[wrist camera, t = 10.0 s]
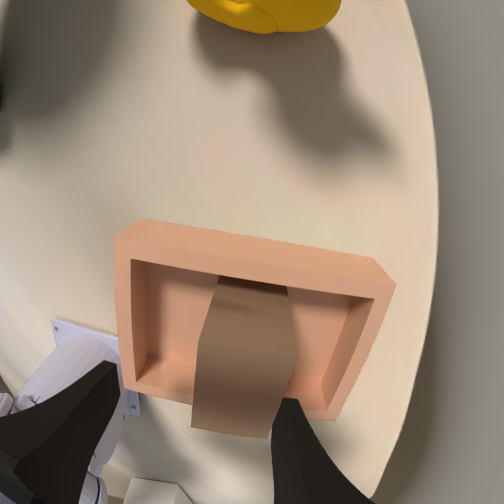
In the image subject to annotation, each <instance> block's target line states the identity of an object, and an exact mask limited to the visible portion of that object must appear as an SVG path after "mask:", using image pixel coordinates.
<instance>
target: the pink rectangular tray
mask: <svg viewBox="0 0 504 504" xmlns="http://www.w3.org/2000/svg"><path fill="white" fill-rule="evenodd" d="M220 275H223V276H229V277H235V278H241V279H247V280H253V281H259V282H265V283H272V284H278V285H284V286H287V291H288V297H289V304H290V310H291V317H292V323H293V330H294V337H295V344H296V350H297V359H296V362H295V365H294V368H293V371H292V373H291V376H290V379H289V382H288V385H287V387H286V390H285V393H284V396H283V397H285V398H296V399H298V400H299V402H300V405H301V407H302V409H303V412H304V414H305V416H306V418H307V420H336V418H337V416H338V414H339V412H340V410H341V409H342V407H343V405H344V403H345V401H346V399H347V397H348V395H349V393H350V392H351V390H352V388H353V386H354V384H355V382H356V380H357V377H358V375H359V373H360V371H361V369H362V367H363V365H364V363H365V361H366V358H367V356H368V354H369V352H370V350H371V347H372V345H373V343H374V340H375V338H376V336H377V333H378V331H379V328H380V326H381V324H382V321H383V319H384V316H385V314H386V311H387V308H388V306H389V303H390V300H391V298H392V295H393V292H394V289H395V287H396V284H395V282H394V281H393V280H392V279H391V278H390V277H389V276H388V275H387V273H386V272H385V271H384V270H383V269H382V268H381V267H380V266H379V265H378V263H377V262H376V261H375V260H374V259H373V258H368V257H362V256H357V255H351V254H346V253H340V252H335V251H329V250H324V249H318V248H312V247H307V246H301V245H295V244H290V243H284V242H278V241H272V240H266V239H261V238H255V237H249V236H243V235H237V234H231V233H225V232H219V231H213V230H207V229H200V228H194V227H188V226H182V225H176V224H169V223H163V222H157V221H150V220H144V219H142V220H140V221H138V222H137V223H135V224H134V225H132V226H131V227H129V228H127V229H126V230H124V231H123V232H121V233H120V234H118V235H117V236H115V237H114V282H115V305H116V320H117V333H118V343H119V353H120V361H121V369H122V377H123V384H124V388H126V389H129V390H133V391H136V392H140V393H143V394H147V395H151V396H155V397H159V398H163V399H167V400H172V401H176V402H181V403H185V404H190V405H193V394H194V382H195V371H196V360H197V350H198V340H199V337H200V334H201V331H202V328H203V325H204V321H205V318H206V315H207V312H208V309H209V306H210V303H211V300H212V297H213V294H214V291H215V288H216V285H217V282H218V279H219V276H220ZM282 399H283V398H282ZM279 407H280V406H279Z"/></svg>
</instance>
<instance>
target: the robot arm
mask: <svg viewBox="0 0 504 504" xmlns="http://www.w3.org/2000/svg"><path fill="white" fill-rule="evenodd" d="M52 327H53V332H54V337H55V341H56V345H57V347H56V348H55V349H54V351H53V352H52V353H51V354H50V355H49V356H48V358H47V359H46V360H45V361H44V362H43V363H42V365H41V366H40V367H39V368H38V369H37V371H36V372H35V373H34V374H33V375H32V377H31V378H30V379H29V380H28V382H27V383H26V384H25V385H24V386H23V388H22V389H21V390H20V391H19V393H18V394H17V395H16V397H15V398H13V399H12V398H11V397H10V396H9V395H8V394H7V393H4V394H2V393H0V504H107V487H106V484H105V482H104V480H103V479H102V478H101V477H100V476H99V474H100V472H101V470H102V467H103V465H105V464H106V463H107V462H108V461H109V460H110V459H111V457H112V455H113V452H114V450H115V448H116V445H117V443H118V440H119V438H120V436H121V433H122V431H123V429H124V427H125V424H126V422H127V420H128V417H129V415H133V416H140V414H141V410H140V402H139V394H138V392H136V391H133V390H129V389H126V388H124V384H123V377H122V369H121V361H120V353H119V343H118V336H115V335H111V334H107V333H104V332H100V331H97V330H94V329H90V328H87V327H84V326H81V325H78V324H74V323H71V322H68V321H65V320H62V319H59V318H56V317H55V318H53V319H52ZM271 451H272V465H273V478H274V504H375V503H373V502H372V501H371V500H370V499H368V498H367V497H366V496H365V495H363V494H362V493H361V492H360V491H359V490H358V489H357V488H356V487H355V486H354V485H353V484H352V483H351V482H350V481H349V480H348V479H347V478H346V477H345V476H344V475H343V474H342V473H341V471H340V470H339V469H338V468H337V466H336V465H335V464H334V463H333V461H332V460H331V459H330V457H329V456H328V454H327V453H326V451H325V450H324V448H323V447H322V445H321V444H320V442H319V440H318V439H317V437H316V435H315V433H314V431H313V430H312V428H311V426H310V424H309V422H308V420H307V418H306V416H305V414H304V412H303V409H302V407H301V405H300V402H299V400H298V399H296V398H285V397H283V399H282V401H281V404H280V407H279V409H278V412H277V414H276V417H275V420H274V422H273V425H272V437H271Z"/></svg>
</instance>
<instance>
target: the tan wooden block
mask: <svg viewBox="0 0 504 504" xmlns="http://www.w3.org/2000/svg"><path fill="white" fill-rule="evenodd" d="M296 359H297V350H296V344H295V337H294V330H293V323H292V317H291V310H290V304H289V297H288V291H287V286H284V285H278V284H272V283H265V282H259V281H253V280H247V279H241V278H235V277H229V276H223V275H220V276H219V279H218V282H217V285H216V288H215V291H214V294H213V297H212V300H211V303H210V306H209V309H208V312H207V315H206V318H205V321H204V325H203V328H202V331H201V334H200V337H199V340H198V350H197V360H196V371H195V382H194V394H193V406H192V420H191V427H193V428H198V429H203V430H208V431H214V432H220V433H226V434H233V435H240V436H248V437H256V438H265V439H267V437H268V435H269V432H270V430H271V427H272V425H273V422H274V419H275V417H276V414H277V412H278V409H279V406H280V404H281V401H282V398H283V396H284V393H285V390H286V387H287V385H288V382H289V379H290V376H291V373H292V371H293V368H294V365H295V362H296Z"/></svg>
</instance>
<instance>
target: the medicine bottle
mask: <svg viewBox="0 0 504 504" xmlns="http://www.w3.org/2000/svg"><path fill="white" fill-rule="evenodd" d="M123 504H192V501H191V500H190V499H189V498H188V497H187V495H186V494H185V493H184V491H183V490H182V489H181V488H180V486H179V485H178V484H176V483H168V482H160V481H153V480H147V479H141V478H135V477H132V479H131V481H130V484H129V487H128V490H127V493H126V496H125V499H124V503H123Z"/></svg>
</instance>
